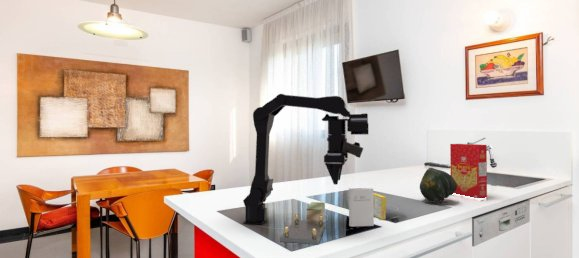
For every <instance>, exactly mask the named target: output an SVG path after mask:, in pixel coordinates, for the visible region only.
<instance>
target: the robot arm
mask: <svg viewBox="0 0 579 258" xmlns="http://www.w3.org/2000/svg"><path fill="white" fill-rule="evenodd" d="M346 104H347V103H346V102H345V100H344V98H343V97H341V96H338V95H331V96H330V95H329V96H321V97H312V96H303V95H301V96H300V95H293V94H292V95H290V94H284V93H279V94H277V95H276V96H275V97H274V98H272V99H271V100H269V101H268V102H266V103H265V104H264V105H262V106H259V107H256V108H255V109H254V110H253V113H252V118H253V119H252V120H253V126H254V129H255V132H256V141H255V142H256V143H255V144H256V145H255V169H254V176H253V179H252V181H251V185H250V189H249V193H248V195H247V196H246V197H245V198H244V199H243V201H242V202H243V204H244V206H245V220H244V221H243V224H249V225H251V224H252V225H263V224H264V223H265V222H266V221H267V220H268V218H267V217H268V214H267V210H268V209H267V207H266V203H265V202H266V200H267V198H268V197H269V196H270V195H272V194H271V193H272V191H274V188H273V183H274V179H273V178H270V176H269V156H270V155H269V152H270V133H271V130H272V129H273V126H274V125H273V124H274V121H275V117H276V116H278V115H279V113H280V112H281V111H282V110H283V109H284V108H285V107H295V108H304V109H314V110H319V111H322V112H327V113H326V114H325V115H324V117H322V118H321V121H323V122H327V138H326V141H327V151H326V154H325V155H324V156H323V163H324V165H325V168H326V169H327V170H328V173H329V176H330V178H331V181H332V183H333V185H336V186H337V185H338V183H339V181H340V180H341V176H342V171H343V166H344V165H345V164H346V162H347V161H348V159H349V154H350V155H353V156H354V157H356V158H361V156H362V153H363V150H364V147H362V146H361V143H360V142H357V141H354V143H351V142H349V141H348V139H347V137H346V135H347V134H346V130H347V132H349V133H350V135H351V136H352V135H355V136H357V135H360V136H361V135H365V136H366V135H369V114H368V113H367V112H366V113H358V114H357V113H354V114H351V112H350V111H349V110H348V109H347V108H346V106H347V105H346ZM328 113H329V114H333V115H329V114H328ZM339 115H341V116H343V118H340V117H339ZM346 122H347V123H346ZM346 124H347V125H346ZM346 127H347V128H346Z"/></svg>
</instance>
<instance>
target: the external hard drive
mask: <svg viewBox="0 0 579 258" xmlns="http://www.w3.org/2000/svg"><path fill="white" fill-rule="evenodd" d="M373 193H374V188H373V187H358V188H357V187H356V188H353V187H351V188H348V219H349V220H348V226H349V227H352V228H353V227H374V224H375V220H374V219H375V216H374V202H373Z"/></svg>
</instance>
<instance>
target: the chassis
mask: <svg viewBox="0 0 579 258" xmlns="http://www.w3.org/2000/svg"><path fill="white" fill-rule="evenodd" d="M299 218H300V217H299V214H297V213H295V214H294V220H293V221H292V222H291V223H290V225H288V226H286V225H285V226H284V232H283V233H282V235H281V236H280V240H279V241H280V242H281V243H282V242H283V243H292V244H293V243H297V244H308V245H310V244H311V245H319V244H320V242H321V239H322V236H323V233H324V231H325V230H326V226H327V222H326V221H324V218H323V216H319V222H312V221H307V220H299Z"/></svg>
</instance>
